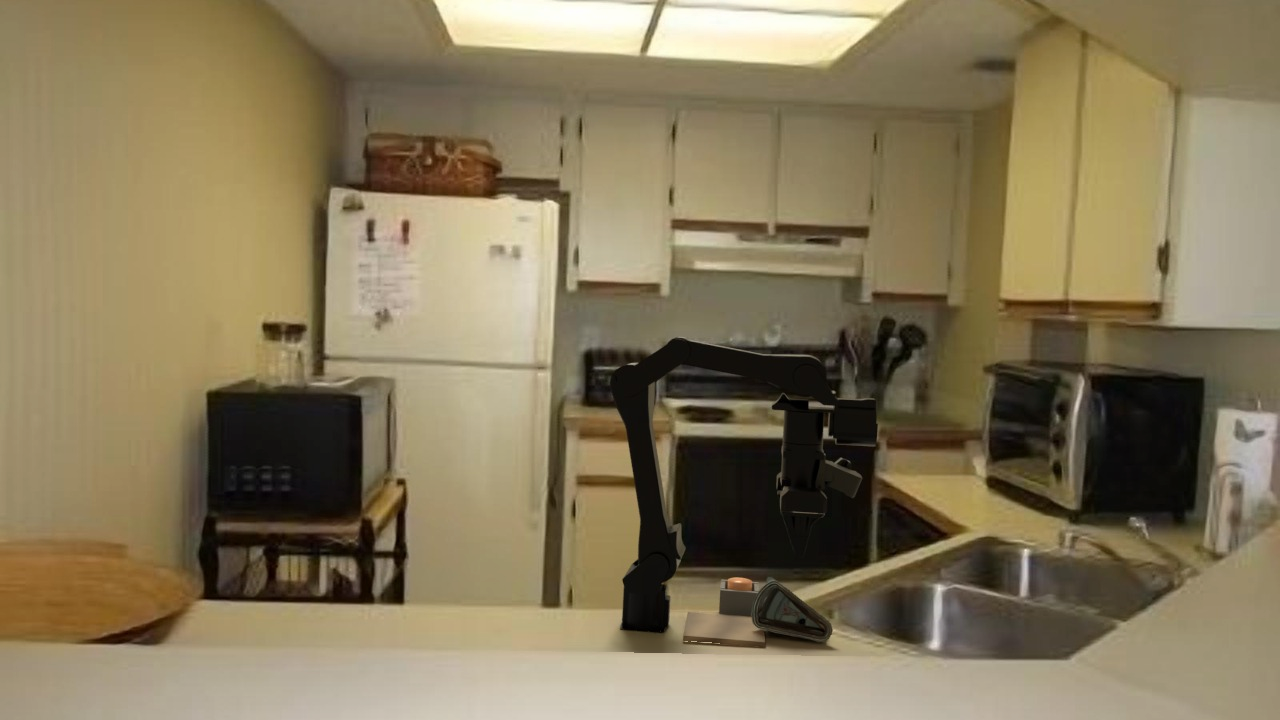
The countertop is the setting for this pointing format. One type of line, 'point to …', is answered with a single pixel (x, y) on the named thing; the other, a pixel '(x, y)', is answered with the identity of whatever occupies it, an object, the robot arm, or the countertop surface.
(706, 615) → the serving board
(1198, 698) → the countertop surface
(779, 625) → the chocolate cake
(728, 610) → the housing
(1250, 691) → the countertop surface
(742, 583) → the brown egg
